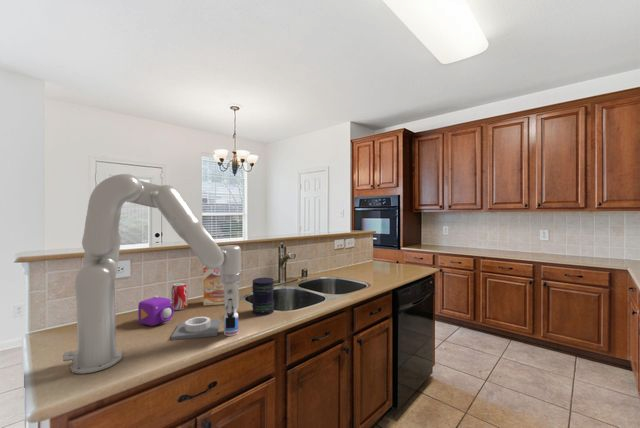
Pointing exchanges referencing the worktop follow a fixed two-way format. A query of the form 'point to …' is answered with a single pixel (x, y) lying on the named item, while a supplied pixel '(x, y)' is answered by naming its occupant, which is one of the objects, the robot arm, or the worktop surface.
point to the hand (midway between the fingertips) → (231, 324)
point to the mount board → (196, 328)
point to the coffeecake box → (213, 287)
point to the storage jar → (263, 296)
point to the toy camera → (155, 311)
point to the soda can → (179, 296)
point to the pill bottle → (231, 330)
